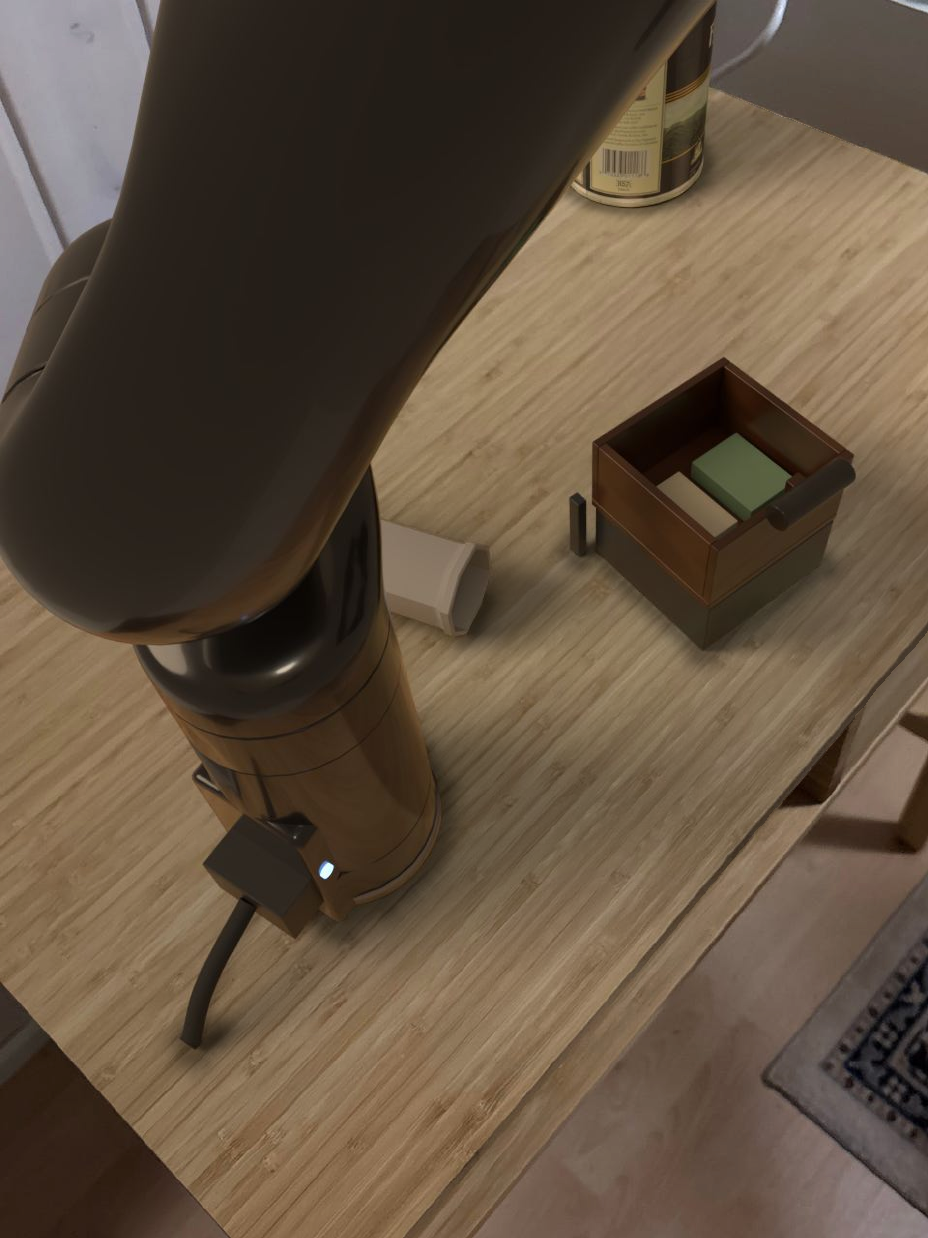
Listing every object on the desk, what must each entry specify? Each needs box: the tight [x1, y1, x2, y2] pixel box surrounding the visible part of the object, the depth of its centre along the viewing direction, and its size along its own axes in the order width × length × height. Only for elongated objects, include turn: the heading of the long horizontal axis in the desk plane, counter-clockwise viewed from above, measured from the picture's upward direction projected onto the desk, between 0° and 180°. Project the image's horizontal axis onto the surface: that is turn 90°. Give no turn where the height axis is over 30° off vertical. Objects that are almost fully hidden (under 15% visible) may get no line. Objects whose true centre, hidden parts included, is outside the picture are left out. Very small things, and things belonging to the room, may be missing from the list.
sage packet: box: [691, 433, 792, 522], centre depth 60 cm, size 4×3×1 cm
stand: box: [568, 492, 834, 651], centre depth 62 cm, size 10×11×5 cm
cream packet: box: [656, 472, 738, 541], centre depth 59 cm, size 4×3×1 cm
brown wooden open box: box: [591, 356, 857, 610], centre depth 57 cm, size 11×9×7 cm
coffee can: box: [570, 0, 718, 208], centre depth 78 cm, size 10×10×14 cm
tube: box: [381, 517, 492, 637], centre depth 65 cm, size 5×5×25 cm
